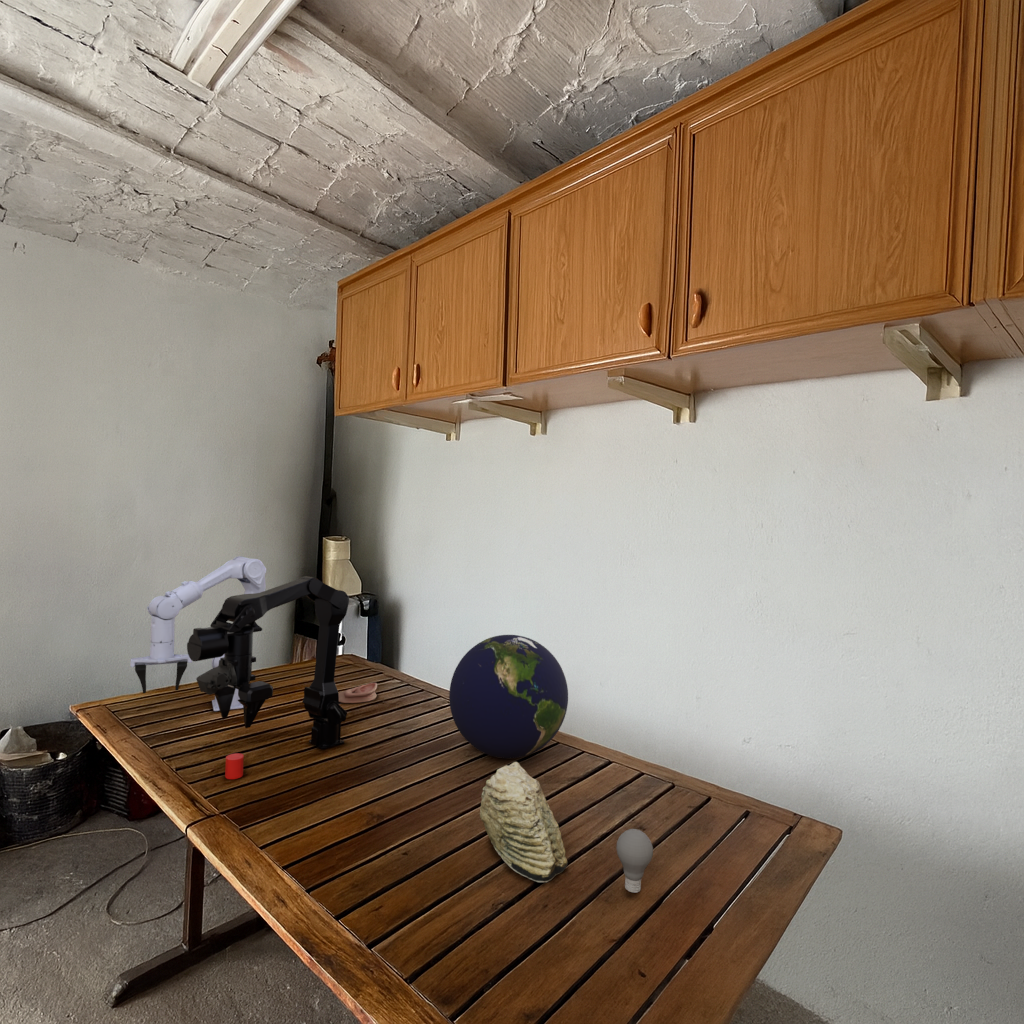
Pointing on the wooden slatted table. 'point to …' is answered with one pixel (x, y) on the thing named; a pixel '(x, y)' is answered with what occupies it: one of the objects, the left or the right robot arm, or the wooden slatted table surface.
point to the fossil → (522, 824)
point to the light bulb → (634, 857)
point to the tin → (234, 766)
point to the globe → (508, 696)
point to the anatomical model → (359, 694)
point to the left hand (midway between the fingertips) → (160, 690)
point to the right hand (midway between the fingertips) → (235, 722)
